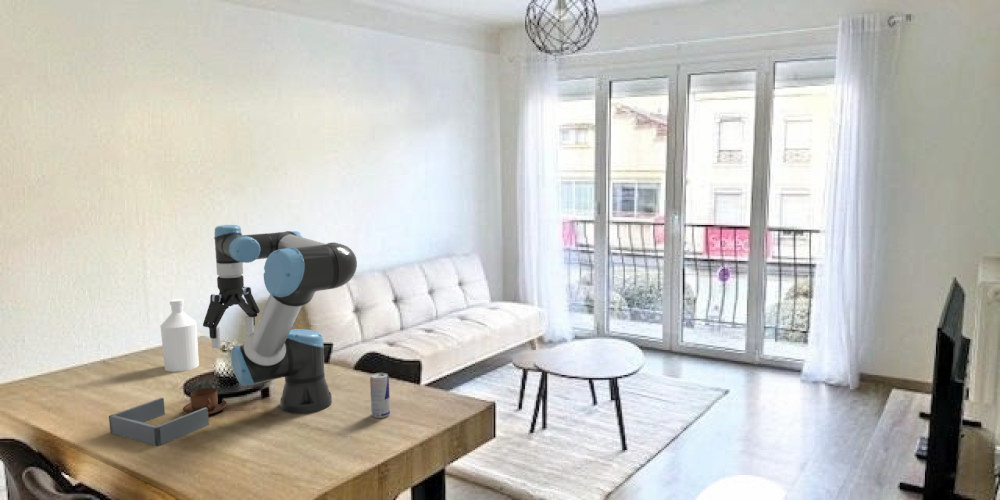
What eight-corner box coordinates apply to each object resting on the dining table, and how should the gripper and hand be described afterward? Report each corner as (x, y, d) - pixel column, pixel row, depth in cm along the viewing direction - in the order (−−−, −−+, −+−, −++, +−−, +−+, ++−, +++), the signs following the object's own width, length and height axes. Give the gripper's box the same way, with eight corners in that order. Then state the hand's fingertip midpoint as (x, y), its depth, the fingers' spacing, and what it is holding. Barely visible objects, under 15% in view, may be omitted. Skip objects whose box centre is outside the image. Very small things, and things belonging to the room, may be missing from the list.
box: (208, 424, 189) (207, 407, 189) (157, 446, 175) (156, 428, 175) (162, 413, 198) (161, 397, 198) (110, 433, 184) (108, 415, 184)
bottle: (157, 368, 243) (151, 301, 240) (187, 360, 253) (182, 295, 250) (175, 373, 237) (170, 304, 233) (206, 365, 246) (201, 299, 243)
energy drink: (393, 412, 197) (391, 373, 195) (385, 419, 192) (383, 378, 190) (376, 410, 198) (375, 371, 197) (368, 417, 193) (366, 377, 191)
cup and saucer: (235, 408, 202) (234, 389, 201) (200, 422, 192) (198, 401, 191) (210, 402, 208) (208, 383, 207) (174, 414, 198) (173, 394, 197)
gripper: (251, 267, 217) (254, 330, 221) (187, 281, 195) (191, 351, 198) (269, 269, 214) (272, 333, 218) (205, 284, 192) (209, 355, 195)
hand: (233, 342), depth 208 cm, fingers open, 13 cm apart
